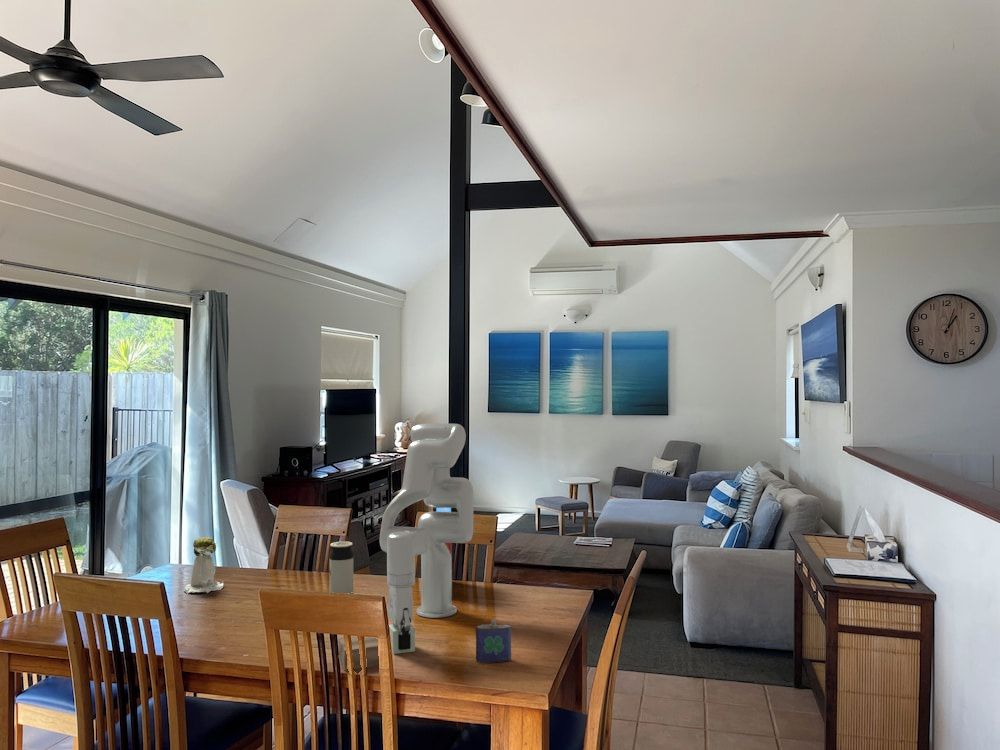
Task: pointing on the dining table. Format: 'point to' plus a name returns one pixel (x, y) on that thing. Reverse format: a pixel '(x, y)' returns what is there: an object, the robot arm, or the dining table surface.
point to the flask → (493, 643)
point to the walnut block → (370, 652)
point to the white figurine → (203, 567)
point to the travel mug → (341, 567)
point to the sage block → (394, 638)
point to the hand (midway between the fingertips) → (401, 644)
